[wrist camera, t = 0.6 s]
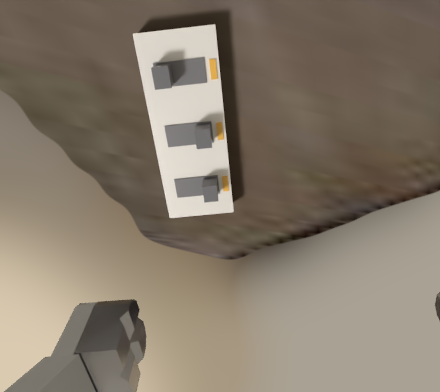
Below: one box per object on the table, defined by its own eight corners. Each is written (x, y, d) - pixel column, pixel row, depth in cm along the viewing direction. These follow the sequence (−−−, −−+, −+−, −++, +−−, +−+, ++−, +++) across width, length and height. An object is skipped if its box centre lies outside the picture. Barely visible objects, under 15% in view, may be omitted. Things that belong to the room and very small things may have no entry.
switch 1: (154, 65, 41) (150, 67, 39) (170, 63, 41) (167, 66, 39) (158, 86, 42) (155, 89, 40) (173, 84, 42) (171, 88, 40)
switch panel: (137, 33, 43) (132, 33, 40) (215, 24, 42) (215, 24, 40) (172, 208, 55) (169, 218, 52) (232, 202, 54) (233, 212, 51)
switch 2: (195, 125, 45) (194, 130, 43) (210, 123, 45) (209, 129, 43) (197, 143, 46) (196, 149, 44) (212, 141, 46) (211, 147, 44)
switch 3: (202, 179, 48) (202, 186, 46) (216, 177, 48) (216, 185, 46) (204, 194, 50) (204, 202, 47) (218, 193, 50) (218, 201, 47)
